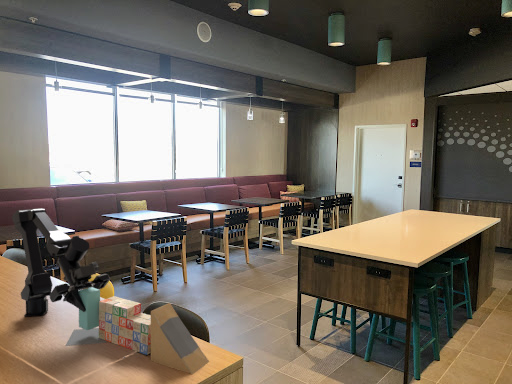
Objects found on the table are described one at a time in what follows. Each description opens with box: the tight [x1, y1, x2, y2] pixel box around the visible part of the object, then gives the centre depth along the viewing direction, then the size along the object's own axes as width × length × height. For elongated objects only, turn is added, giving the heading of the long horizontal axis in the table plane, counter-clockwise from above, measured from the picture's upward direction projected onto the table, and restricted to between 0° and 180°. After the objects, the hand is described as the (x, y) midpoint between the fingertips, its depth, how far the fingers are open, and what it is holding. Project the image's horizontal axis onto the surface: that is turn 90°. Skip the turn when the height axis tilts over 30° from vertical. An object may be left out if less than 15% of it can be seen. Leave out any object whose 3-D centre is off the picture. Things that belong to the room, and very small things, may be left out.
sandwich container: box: [150, 302, 210, 375], centre depth 114 cm, size 9×15×15 cm, turn 63°
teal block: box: [78, 287, 101, 330], centre depth 128 cm, size 5×5×12 cm
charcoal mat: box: [65, 327, 108, 347], centre depth 129 cm, size 12×12×1 cm
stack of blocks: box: [98, 295, 151, 356], centre depth 125 cm, size 21×6×12 cm, turn 61°
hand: (92, 309), depth 127 cm, fingers closed on teal block, 5 cm apart
